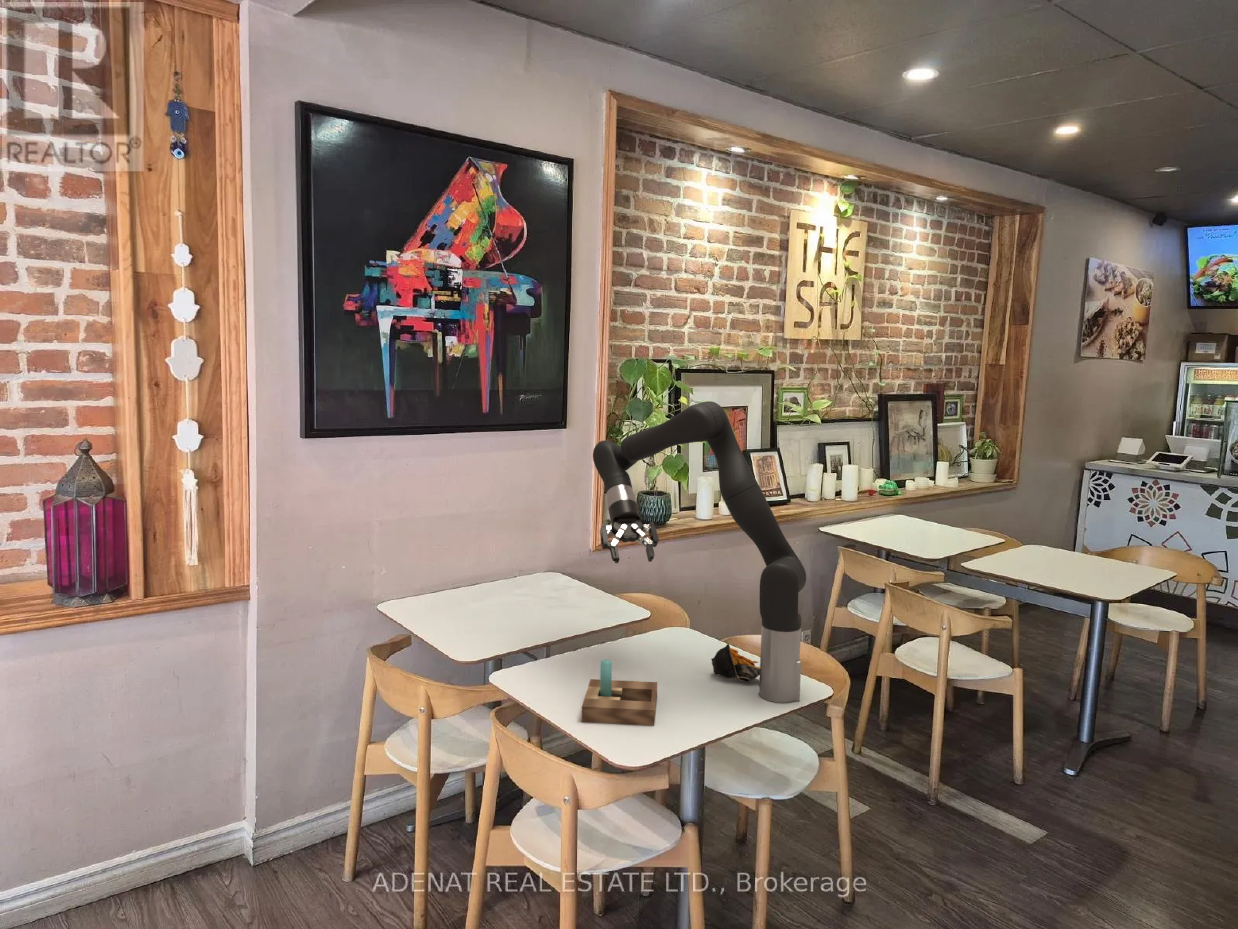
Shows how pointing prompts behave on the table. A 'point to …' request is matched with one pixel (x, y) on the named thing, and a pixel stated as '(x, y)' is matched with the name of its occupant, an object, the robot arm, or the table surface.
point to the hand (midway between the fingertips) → (634, 560)
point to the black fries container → (734, 665)
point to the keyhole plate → (621, 703)
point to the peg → (605, 678)
